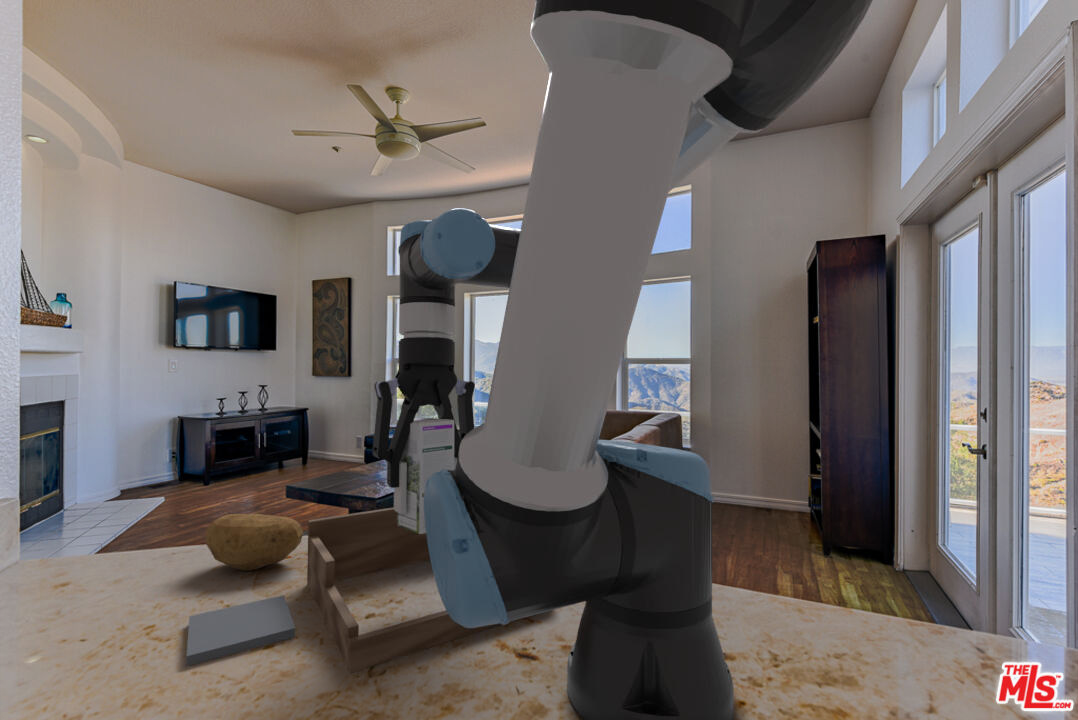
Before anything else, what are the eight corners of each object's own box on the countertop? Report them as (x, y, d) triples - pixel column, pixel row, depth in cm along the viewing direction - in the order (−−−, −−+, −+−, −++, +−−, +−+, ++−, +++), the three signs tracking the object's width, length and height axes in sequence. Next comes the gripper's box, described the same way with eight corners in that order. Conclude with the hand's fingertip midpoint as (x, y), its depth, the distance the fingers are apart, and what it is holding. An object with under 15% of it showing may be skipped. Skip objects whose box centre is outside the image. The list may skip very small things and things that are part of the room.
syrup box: (455, 526, 66) (457, 418, 67) (417, 536, 62) (419, 420, 62) (431, 518, 70) (433, 416, 71) (394, 526, 66) (396, 418, 66)
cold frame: (553, 607, 63) (553, 536, 63) (350, 673, 49) (351, 581, 49) (467, 549, 83) (467, 496, 84) (307, 584, 69) (308, 520, 69)
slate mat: (295, 636, 55) (295, 628, 55) (186, 666, 50) (186, 656, 50) (283, 602, 63) (283, 595, 63) (189, 624, 58) (189, 616, 58)
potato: (281, 580, 70) (283, 524, 71) (187, 578, 71) (189, 523, 71) (315, 555, 80) (316, 506, 80) (232, 554, 81) (233, 505, 81)
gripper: (477, 342, 76) (477, 493, 74) (346, 336, 65) (344, 512, 64) (502, 339, 69) (501, 503, 68) (361, 331, 58) (359, 526, 57)
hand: (425, 507), depth 66 cm, fingers closed on syrup box, 6 cm apart
